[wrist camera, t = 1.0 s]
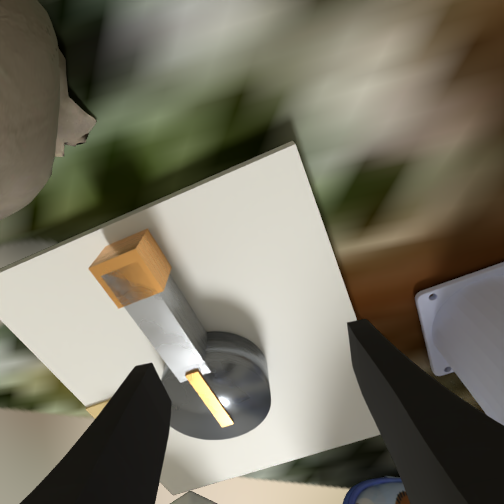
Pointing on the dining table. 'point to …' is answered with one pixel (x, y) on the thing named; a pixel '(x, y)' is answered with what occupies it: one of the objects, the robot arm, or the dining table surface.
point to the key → (186, 345)
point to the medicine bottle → (192, 499)
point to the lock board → (211, 312)
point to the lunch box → (378, 492)
